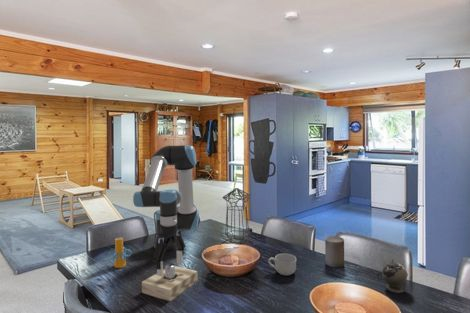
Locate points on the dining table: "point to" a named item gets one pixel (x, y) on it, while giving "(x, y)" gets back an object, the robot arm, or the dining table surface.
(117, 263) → the orange post with rings
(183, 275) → the jig
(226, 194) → the geometric lantern
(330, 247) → the pillar candle
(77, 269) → the dining table surface
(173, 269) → the grey metal peg
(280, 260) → the teacup
